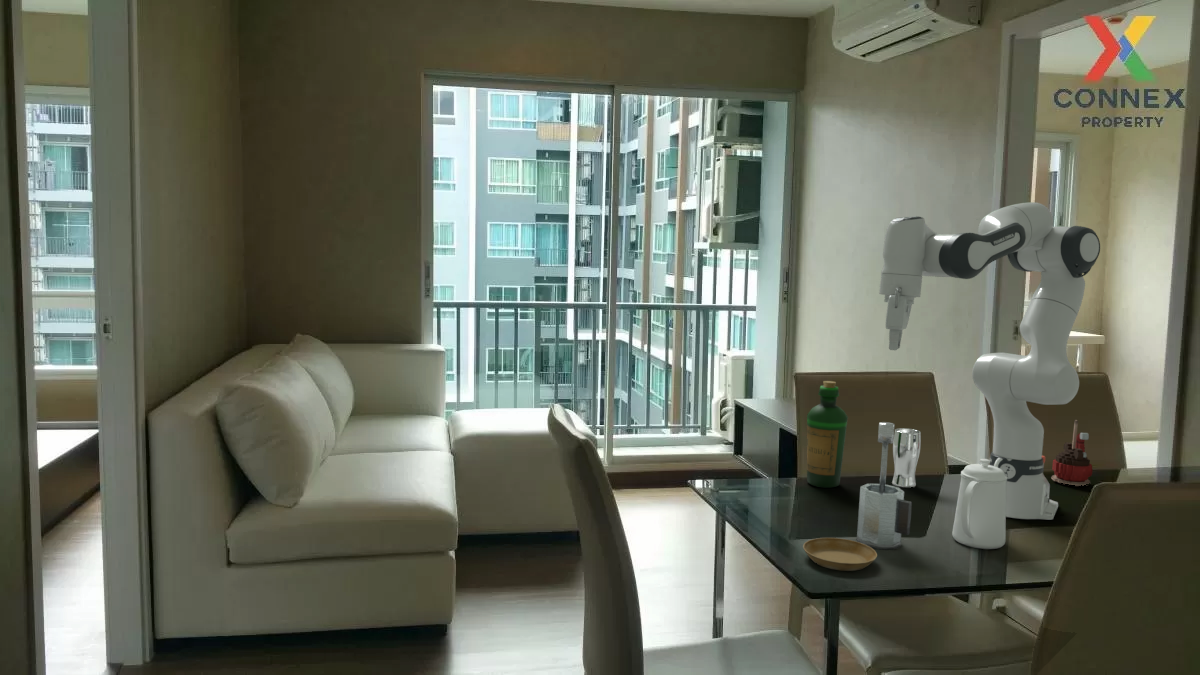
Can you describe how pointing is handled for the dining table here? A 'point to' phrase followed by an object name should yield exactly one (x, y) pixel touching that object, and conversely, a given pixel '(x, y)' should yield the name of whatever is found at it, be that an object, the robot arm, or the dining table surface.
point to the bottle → (826, 439)
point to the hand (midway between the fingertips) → (894, 349)
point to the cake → (1073, 461)
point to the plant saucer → (839, 553)
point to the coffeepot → (981, 506)
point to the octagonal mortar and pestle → (883, 517)
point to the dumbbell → (884, 449)
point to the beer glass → (905, 456)
